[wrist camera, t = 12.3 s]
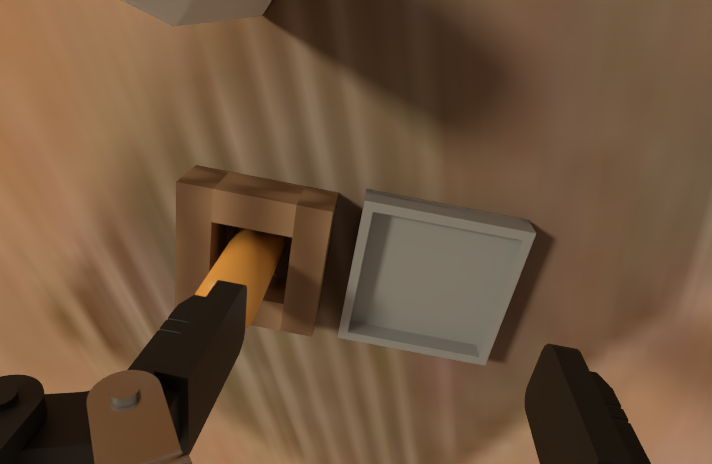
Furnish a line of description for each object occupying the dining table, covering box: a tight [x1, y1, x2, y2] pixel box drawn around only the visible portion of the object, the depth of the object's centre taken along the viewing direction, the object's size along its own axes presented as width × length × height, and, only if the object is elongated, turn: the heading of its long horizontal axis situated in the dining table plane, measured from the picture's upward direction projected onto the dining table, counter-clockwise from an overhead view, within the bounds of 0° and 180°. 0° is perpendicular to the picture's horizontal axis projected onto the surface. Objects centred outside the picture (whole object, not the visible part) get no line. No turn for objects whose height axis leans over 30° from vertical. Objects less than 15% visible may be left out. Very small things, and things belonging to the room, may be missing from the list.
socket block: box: [175, 165, 339, 336], centre depth 41 cm, size 12×12×4 cm
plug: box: [195, 227, 285, 329], centre depth 38 cm, size 4×4×10 cm
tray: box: [337, 189, 536, 366], centre depth 41 cm, size 14×14×2 cm
